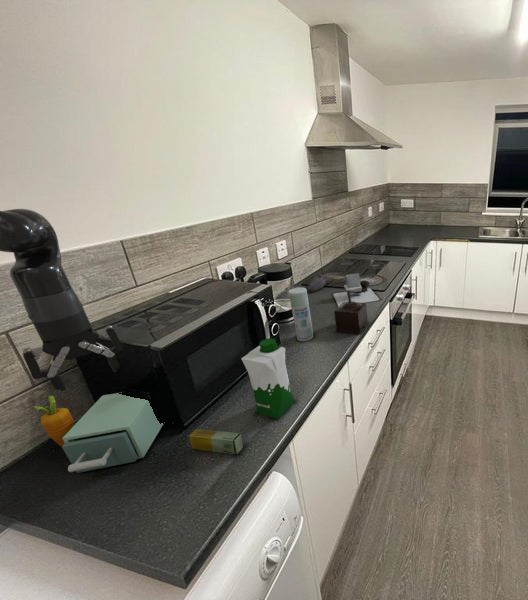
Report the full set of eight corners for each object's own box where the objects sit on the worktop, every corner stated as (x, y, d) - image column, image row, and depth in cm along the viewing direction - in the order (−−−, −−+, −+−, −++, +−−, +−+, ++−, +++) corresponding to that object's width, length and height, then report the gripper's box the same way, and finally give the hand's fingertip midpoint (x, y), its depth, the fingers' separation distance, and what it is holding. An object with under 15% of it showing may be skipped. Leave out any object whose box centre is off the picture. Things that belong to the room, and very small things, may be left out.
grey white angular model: (379, 299, 160) (378, 278, 156) (338, 306, 154) (336, 284, 150) (370, 288, 177) (368, 267, 173) (332, 293, 171) (330, 273, 166)
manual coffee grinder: (361, 334, 128) (357, 292, 121) (335, 332, 130) (330, 290, 123) (373, 317, 142) (370, 279, 135) (350, 315, 144) (346, 278, 137)
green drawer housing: (143, 457, 75) (128, 426, 72) (80, 470, 73) (61, 438, 69) (168, 415, 88) (157, 386, 85) (116, 424, 86) (102, 395, 82)
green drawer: (125, 477, 69) (111, 451, 66) (62, 490, 67) (45, 463, 64) (161, 420, 85) (151, 396, 82) (111, 428, 83) (99, 405, 80)
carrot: (67, 459, 76) (37, 409, 70) (54, 454, 77) (24, 404, 71) (92, 443, 80) (65, 395, 74) (79, 439, 81) (52, 391, 76)
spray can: (297, 342, 123) (288, 294, 116) (296, 335, 129) (288, 288, 121) (314, 339, 125) (307, 291, 118) (313, 332, 131) (305, 286, 123)
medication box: (244, 446, 77) (241, 433, 76) (237, 455, 75) (234, 441, 74) (199, 441, 79) (196, 427, 78) (190, 449, 77) (187, 435, 75)
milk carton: (298, 400, 92) (287, 340, 85) (277, 422, 84) (262, 358, 77) (274, 394, 95) (260, 335, 87) (251, 415, 87) (234, 352, 80)
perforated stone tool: (313, 294, 170) (311, 282, 168) (304, 293, 172) (303, 281, 170) (328, 285, 183) (327, 273, 180) (321, 284, 185) (319, 273, 182)
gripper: (100, 297, 72) (126, 359, 78) (4, 320, 62) (43, 388, 68) (106, 305, 67) (134, 370, 73) (4, 331, 57) (45, 403, 63)
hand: (90, 379), depth 70 cm, fingers open, 8 cm apart
